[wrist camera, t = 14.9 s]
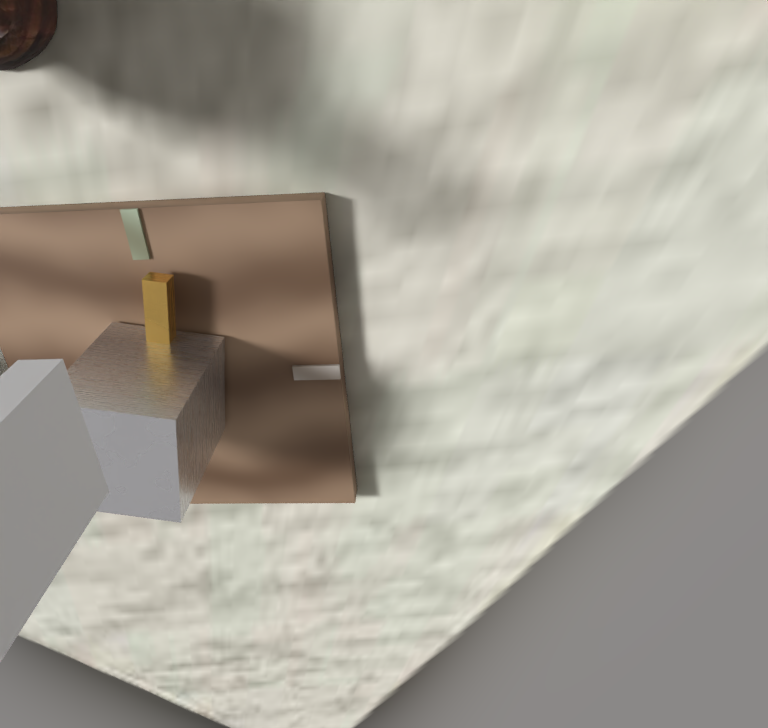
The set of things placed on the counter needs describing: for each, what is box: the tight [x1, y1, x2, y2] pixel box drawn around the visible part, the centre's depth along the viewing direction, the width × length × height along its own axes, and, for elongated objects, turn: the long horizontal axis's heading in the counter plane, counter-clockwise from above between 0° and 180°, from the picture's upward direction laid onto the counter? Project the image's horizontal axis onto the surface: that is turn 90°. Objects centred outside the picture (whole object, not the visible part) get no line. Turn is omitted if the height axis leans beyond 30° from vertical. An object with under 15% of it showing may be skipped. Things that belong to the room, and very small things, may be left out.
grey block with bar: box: [67, 272, 225, 522], centre depth 38 cm, size 11×7×9 cm, turn 173°
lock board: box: [0, 192, 357, 504], centre depth 44 cm, size 22×22×2 cm
